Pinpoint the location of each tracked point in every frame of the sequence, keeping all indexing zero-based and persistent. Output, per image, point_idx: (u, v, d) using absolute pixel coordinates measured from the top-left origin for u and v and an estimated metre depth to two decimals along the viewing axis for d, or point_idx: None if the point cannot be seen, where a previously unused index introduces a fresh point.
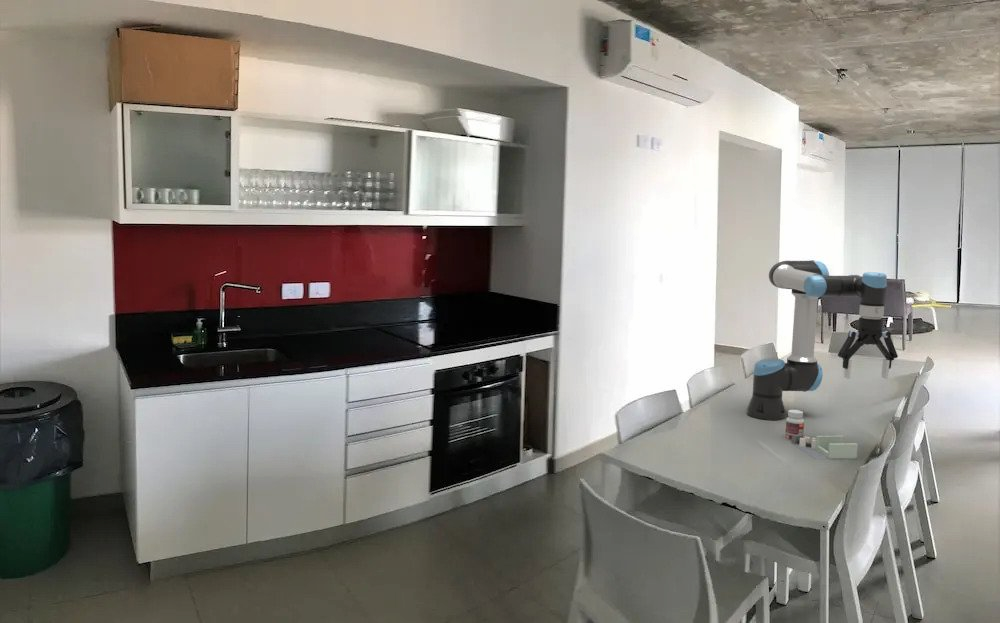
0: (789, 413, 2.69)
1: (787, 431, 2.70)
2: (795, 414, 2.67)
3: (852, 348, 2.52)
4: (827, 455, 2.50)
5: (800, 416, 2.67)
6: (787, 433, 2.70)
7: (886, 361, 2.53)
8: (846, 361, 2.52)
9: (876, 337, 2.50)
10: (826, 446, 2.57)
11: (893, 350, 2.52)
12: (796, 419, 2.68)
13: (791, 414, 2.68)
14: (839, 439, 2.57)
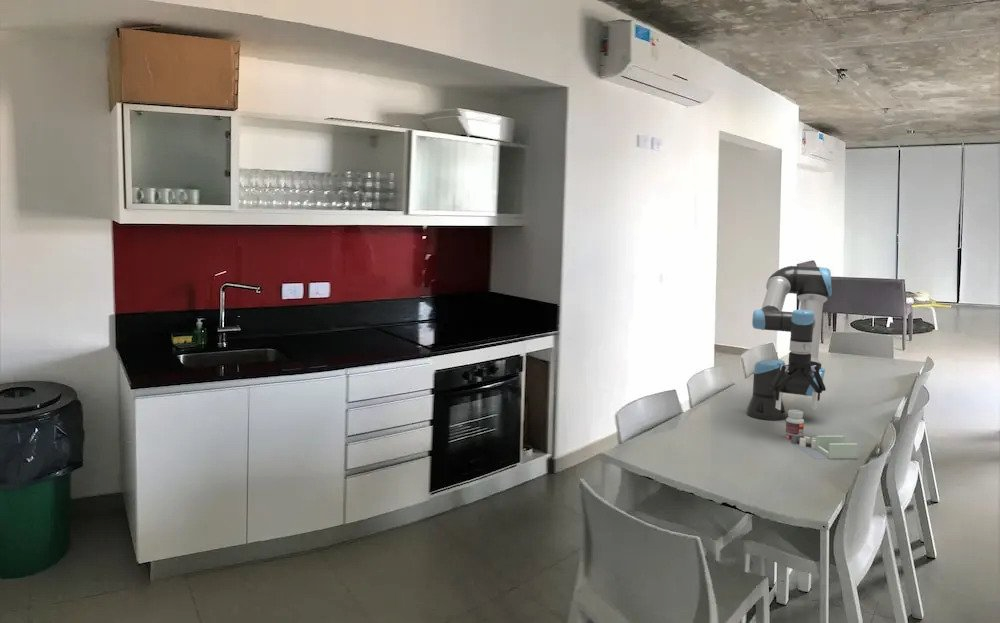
0: (789, 413, 2.69)
1: (787, 431, 2.70)
2: (795, 414, 2.67)
3: (782, 381, 2.67)
4: (827, 455, 2.50)
5: (800, 416, 2.67)
6: (787, 433, 2.70)
7: (815, 393, 2.68)
8: (777, 393, 2.67)
9: (805, 371, 2.65)
10: (826, 446, 2.57)
11: (821, 383, 2.67)
12: (796, 419, 2.68)
13: (791, 414, 2.68)
14: (839, 439, 2.57)
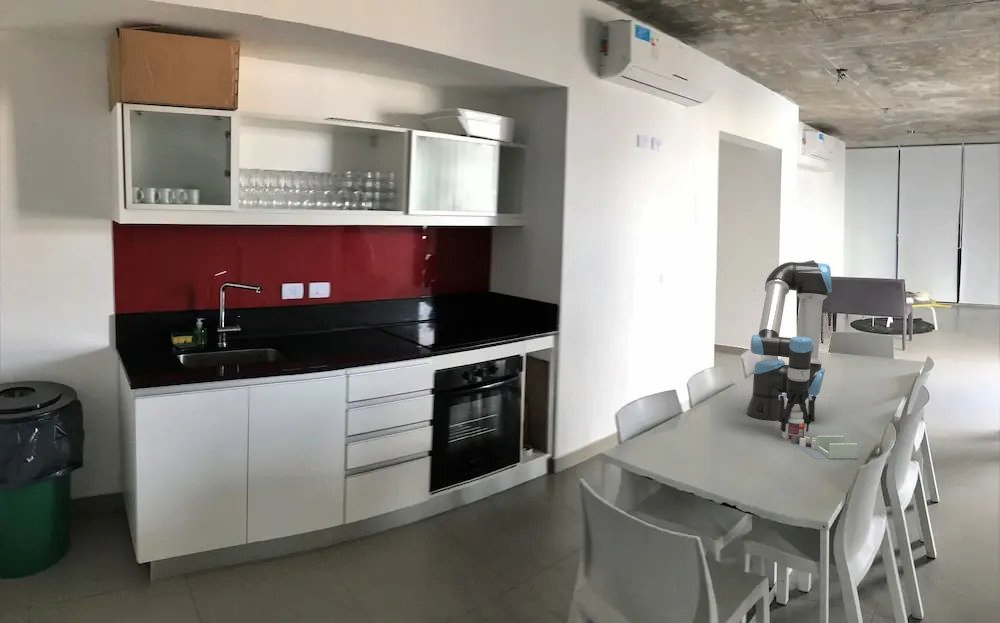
0: None
1: None
2: (795, 414, 2.67)
3: (786, 411, 2.69)
4: (827, 455, 2.50)
5: (800, 416, 2.67)
6: None
7: None
8: (783, 425, 2.69)
9: (802, 398, 2.67)
10: (826, 446, 2.57)
11: (812, 414, 2.69)
12: (796, 419, 2.68)
13: (791, 414, 2.68)
14: (839, 439, 2.57)
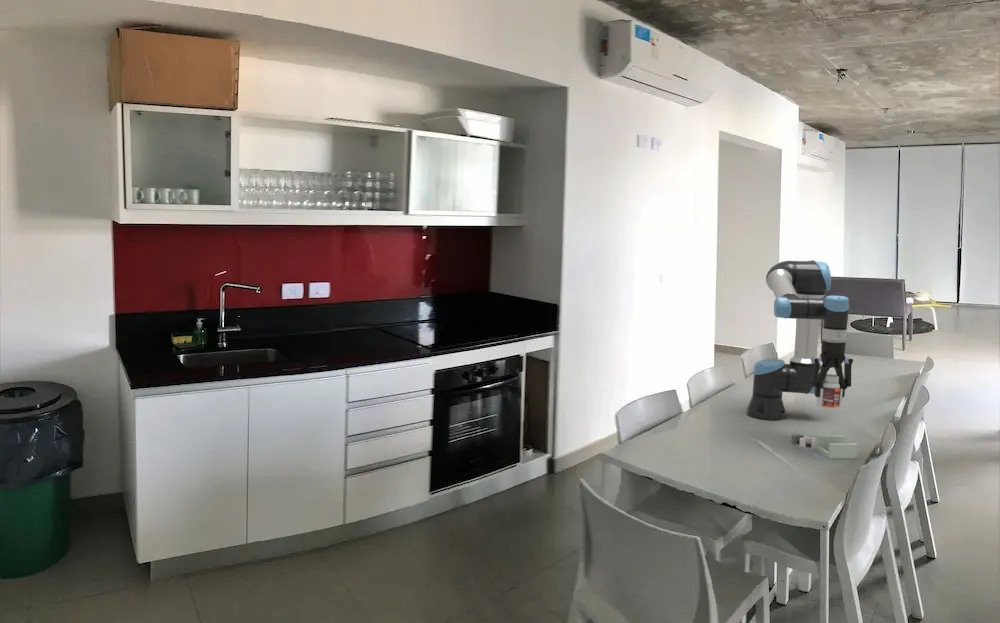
0: None
1: None
2: (830, 378, 2.51)
3: (820, 375, 2.52)
4: (827, 455, 2.50)
5: (836, 380, 2.51)
6: None
7: None
8: (818, 390, 2.52)
9: (838, 360, 2.50)
10: (826, 446, 2.57)
11: (849, 378, 2.52)
12: (831, 383, 2.51)
13: (826, 378, 2.51)
14: (839, 439, 2.57)
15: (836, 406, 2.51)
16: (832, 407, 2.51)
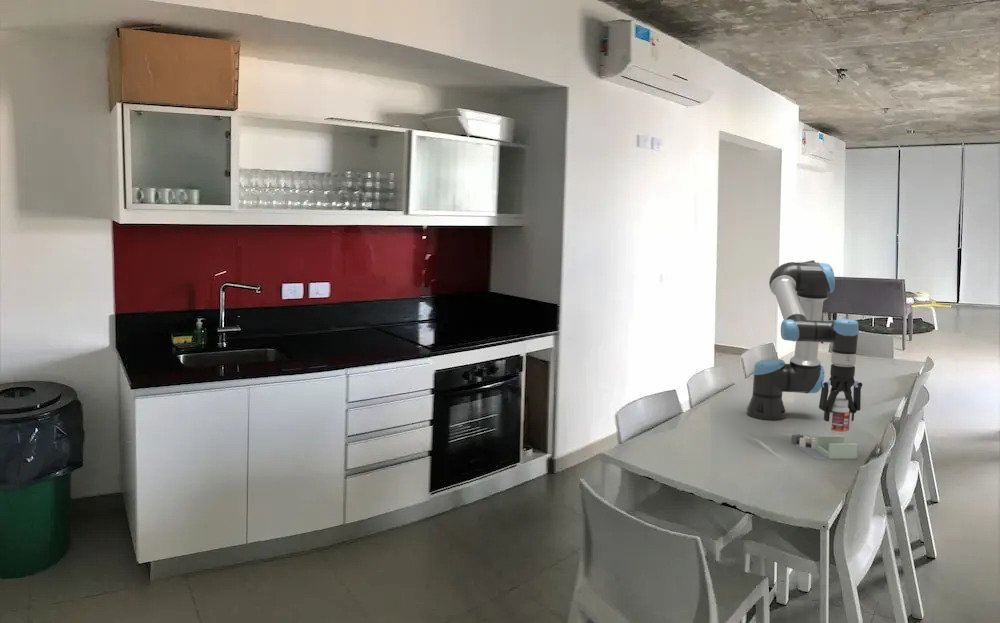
0: None
1: None
2: (840, 402, 2.49)
3: (829, 399, 2.50)
4: (827, 455, 2.50)
5: (845, 404, 2.49)
6: None
7: (849, 414, 2.51)
8: (827, 414, 2.51)
9: (848, 385, 2.48)
10: (826, 446, 2.57)
11: (858, 402, 2.50)
12: (841, 407, 2.49)
13: (835, 402, 2.50)
14: (839, 439, 2.57)
15: (845, 430, 2.50)
16: (842, 431, 2.49)
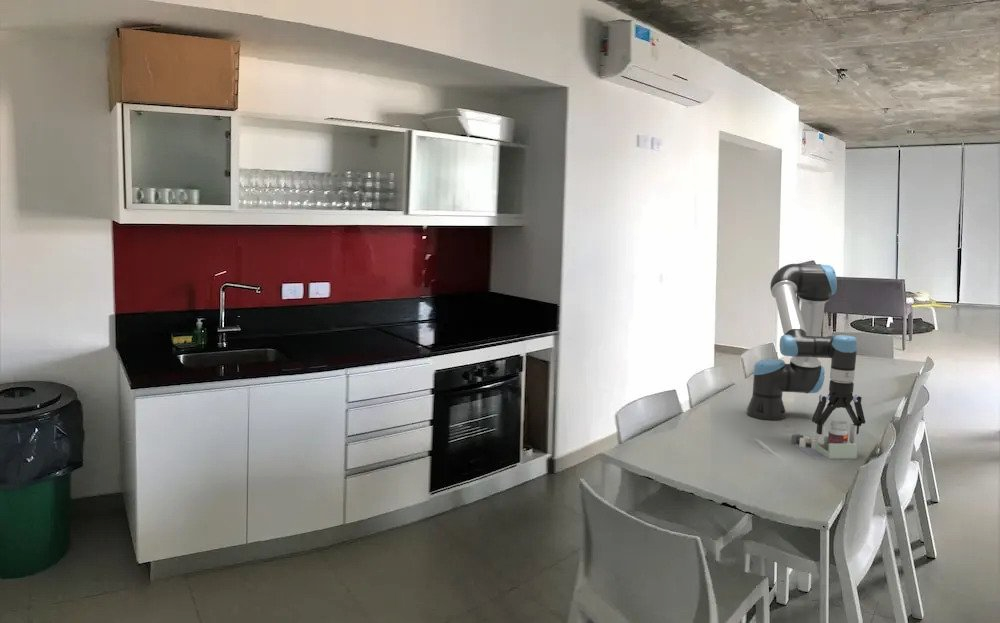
0: (832, 424, 2.52)
1: None
2: (839, 425, 2.50)
3: (825, 413, 2.51)
4: (827, 455, 2.50)
5: (844, 427, 2.50)
6: None
7: (853, 426, 2.52)
8: (820, 427, 2.51)
9: (847, 401, 2.49)
10: (826, 446, 2.57)
11: (861, 415, 2.51)
12: (840, 430, 2.50)
13: (834, 425, 2.51)
14: None
15: None
16: None
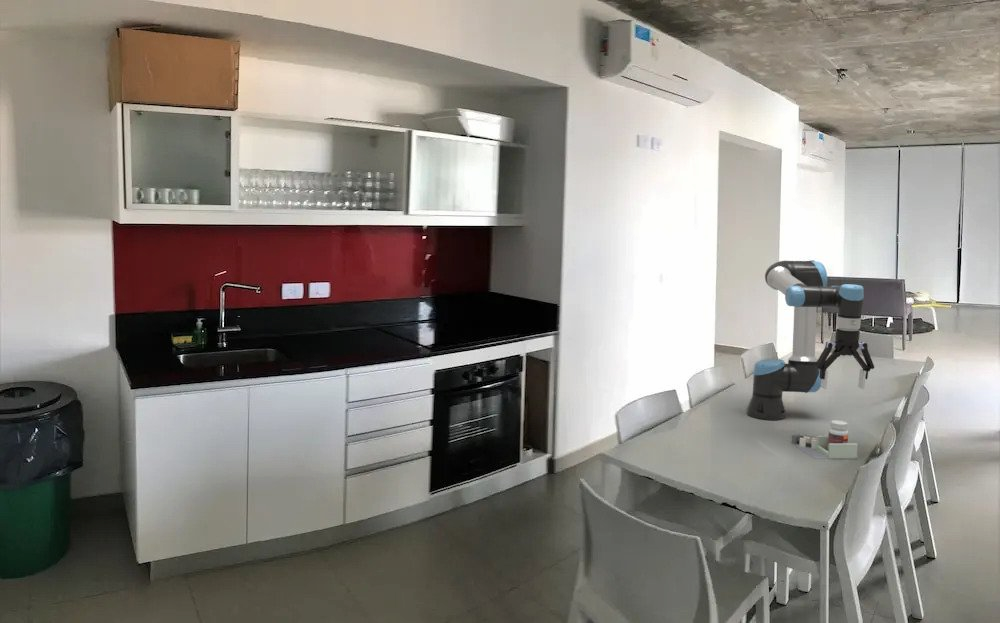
0: (832, 424, 2.52)
1: None
2: (839, 425, 2.50)
3: (829, 359, 2.56)
4: (827, 455, 2.50)
5: (844, 427, 2.50)
6: None
7: (863, 372, 2.56)
8: (823, 372, 2.56)
9: (852, 348, 2.54)
10: (826, 446, 2.57)
11: (870, 361, 2.55)
12: (840, 430, 2.50)
13: (835, 425, 2.51)
14: None
15: None
16: None
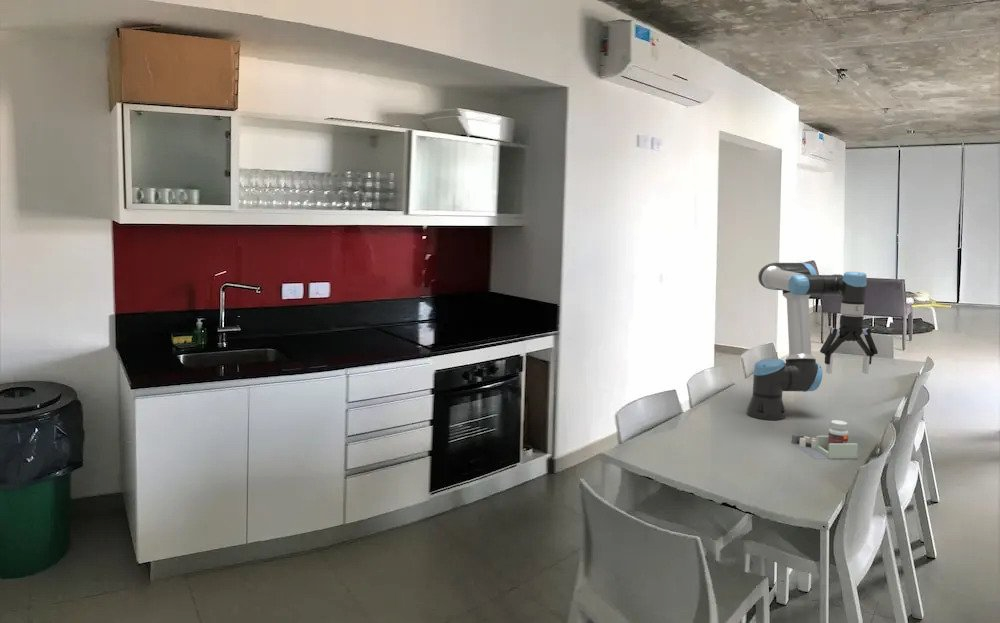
0: (832, 424, 2.52)
1: None
2: (839, 425, 2.50)
3: (834, 344, 2.63)
4: (827, 455, 2.50)
5: (844, 427, 2.50)
6: None
7: (866, 357, 2.63)
8: (828, 357, 2.62)
9: (856, 334, 2.61)
10: (826, 446, 2.57)
11: (873, 346, 2.62)
12: (840, 430, 2.50)
13: (835, 425, 2.51)
14: None
15: None
16: None
